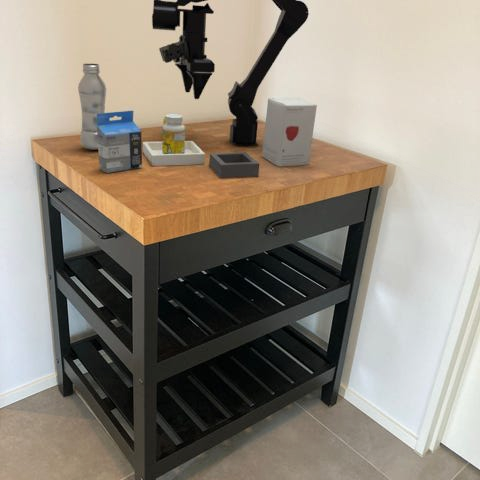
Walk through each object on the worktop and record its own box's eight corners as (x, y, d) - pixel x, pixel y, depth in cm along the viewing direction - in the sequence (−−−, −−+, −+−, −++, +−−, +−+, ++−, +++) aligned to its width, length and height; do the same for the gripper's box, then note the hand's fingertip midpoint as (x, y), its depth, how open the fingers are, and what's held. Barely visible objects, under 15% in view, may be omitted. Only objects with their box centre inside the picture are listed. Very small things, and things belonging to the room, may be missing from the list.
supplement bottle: (188, 157, 126) (189, 117, 122) (168, 159, 123) (169, 119, 119) (177, 151, 130) (178, 112, 126) (158, 153, 127) (158, 114, 123)
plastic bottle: (75, 149, 127) (69, 64, 119) (91, 143, 133) (87, 61, 124) (98, 154, 125) (94, 67, 117) (113, 147, 131) (111, 64, 123)
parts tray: (192, 150, 134) (192, 140, 133) (204, 164, 124) (205, 153, 123) (142, 151, 130) (142, 141, 129) (152, 166, 120) (152, 155, 119)
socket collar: (244, 164, 126) (245, 152, 125) (258, 176, 119) (259, 163, 118) (209, 165, 123) (209, 153, 122) (220, 178, 116) (221, 165, 115)
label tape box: (106, 174, 113) (104, 117, 108) (98, 168, 116) (95, 112, 111) (142, 168, 118) (142, 113, 113) (133, 163, 121) (133, 109, 116)
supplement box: (278, 167, 126) (284, 104, 120) (261, 156, 133) (266, 97, 127) (310, 165, 130) (318, 104, 123) (291, 154, 137) (298, 96, 131)
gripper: (154, 27, 136) (154, 88, 143) (170, 34, 121) (169, 102, 127) (195, 29, 140) (193, 89, 147) (216, 36, 124) (213, 102, 131)
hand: (191, 95), depth 138 cm, fingers open, 9 cm apart
